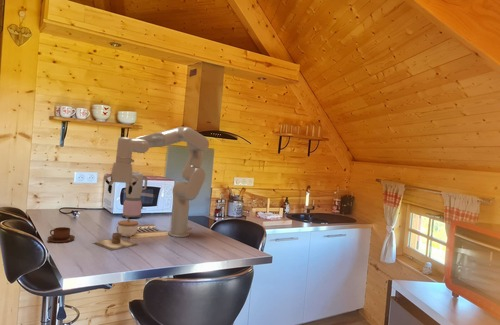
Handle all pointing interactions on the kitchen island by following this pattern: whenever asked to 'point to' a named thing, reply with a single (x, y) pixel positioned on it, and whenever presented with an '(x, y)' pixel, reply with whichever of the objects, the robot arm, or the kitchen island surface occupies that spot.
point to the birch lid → (115, 242)
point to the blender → (134, 197)
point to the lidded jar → (127, 227)
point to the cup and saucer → (61, 235)
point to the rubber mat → (114, 249)
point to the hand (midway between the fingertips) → (119, 193)
